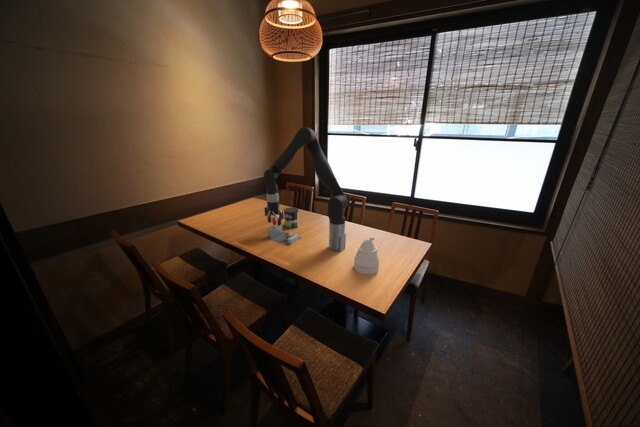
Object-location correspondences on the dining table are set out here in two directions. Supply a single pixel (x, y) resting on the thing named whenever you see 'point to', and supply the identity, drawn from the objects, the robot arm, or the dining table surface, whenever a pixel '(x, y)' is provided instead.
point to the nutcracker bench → (284, 239)
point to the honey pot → (367, 257)
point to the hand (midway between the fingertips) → (274, 223)
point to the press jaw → (274, 229)
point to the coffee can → (291, 218)
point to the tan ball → (288, 234)
